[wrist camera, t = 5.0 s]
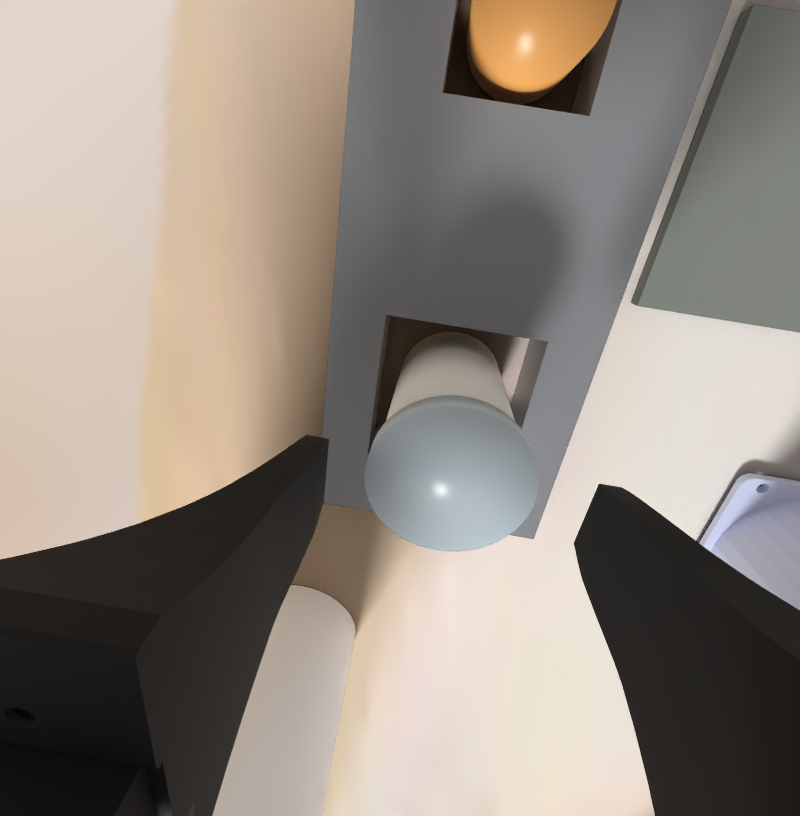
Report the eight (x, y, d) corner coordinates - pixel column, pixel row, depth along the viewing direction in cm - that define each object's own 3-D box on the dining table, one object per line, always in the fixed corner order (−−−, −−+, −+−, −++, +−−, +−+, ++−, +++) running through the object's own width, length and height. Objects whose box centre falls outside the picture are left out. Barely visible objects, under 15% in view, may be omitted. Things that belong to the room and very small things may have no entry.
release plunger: (599, -33, 13) (644, -100, 10) (562, 112, 14) (592, 88, 11) (480, -51, 13) (491, -123, 10) (455, 94, 14) (460, 67, 11)
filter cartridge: (514, 333, 18) (559, 420, 11) (492, 433, 20) (517, 562, 13) (401, 320, 18) (369, 396, 11) (391, 419, 20) (360, 539, 13)
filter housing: (731, -108, 12) (798, -182, 10) (523, 504, 21) (533, 539, 19) (386, -162, 12) (373, -247, 10) (329, 471, 22) (316, 502, 19)
